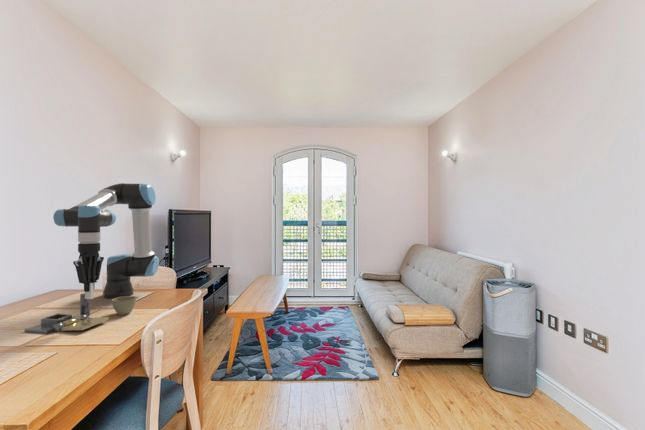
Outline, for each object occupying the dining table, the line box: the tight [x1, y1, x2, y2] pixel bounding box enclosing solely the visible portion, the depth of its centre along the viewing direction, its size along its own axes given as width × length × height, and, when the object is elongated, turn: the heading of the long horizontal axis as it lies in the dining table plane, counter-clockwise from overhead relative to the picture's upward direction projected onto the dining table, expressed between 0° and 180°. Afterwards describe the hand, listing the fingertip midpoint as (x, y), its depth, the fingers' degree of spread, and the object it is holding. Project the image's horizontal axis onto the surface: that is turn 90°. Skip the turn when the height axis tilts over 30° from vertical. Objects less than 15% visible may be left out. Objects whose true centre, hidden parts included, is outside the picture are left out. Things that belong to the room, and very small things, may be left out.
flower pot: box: [111, 295, 137, 316], centre depth 153 cm, size 10×10×7 cm
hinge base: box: [24, 313, 90, 334], centre depth 136 cm, size 18×13×4 cm
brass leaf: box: [60, 315, 110, 332], centre depth 135 cm, size 13×13×3 cm
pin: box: [79, 292, 91, 316], centre depth 149 cm, size 4×4×10 cm
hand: (89, 298), depth 135 cm, fingers closed
